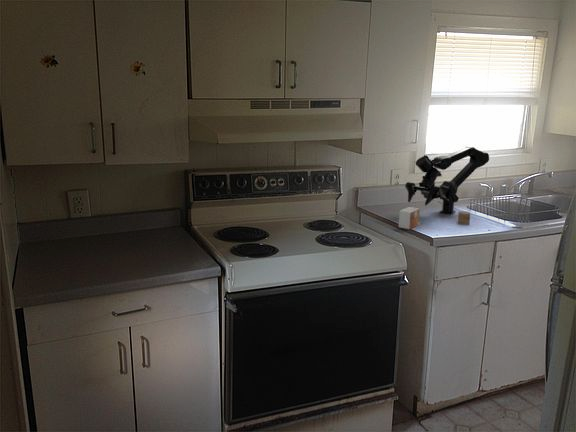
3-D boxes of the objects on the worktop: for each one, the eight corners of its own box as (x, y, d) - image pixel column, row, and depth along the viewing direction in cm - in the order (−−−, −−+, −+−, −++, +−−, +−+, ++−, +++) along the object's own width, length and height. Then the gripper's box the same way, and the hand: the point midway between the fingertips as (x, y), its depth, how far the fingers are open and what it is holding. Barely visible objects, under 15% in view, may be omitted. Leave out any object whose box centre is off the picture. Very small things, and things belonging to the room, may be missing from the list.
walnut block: (457, 221, 262) (458, 211, 261) (468, 221, 261) (469, 211, 259) (458, 223, 257) (459, 213, 256) (469, 224, 256) (470, 214, 255)
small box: (418, 224, 253) (409, 229, 244) (407, 222, 256) (398, 227, 248) (420, 208, 251) (410, 212, 242) (408, 206, 254) (399, 210, 246)
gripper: (451, 190, 268) (439, 216, 263) (418, 185, 280) (405, 209, 275) (445, 176, 260) (432, 202, 255) (411, 172, 272) (398, 196, 267)
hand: (416, 203), depth 263 cm, fingers open, 9 cm apart
